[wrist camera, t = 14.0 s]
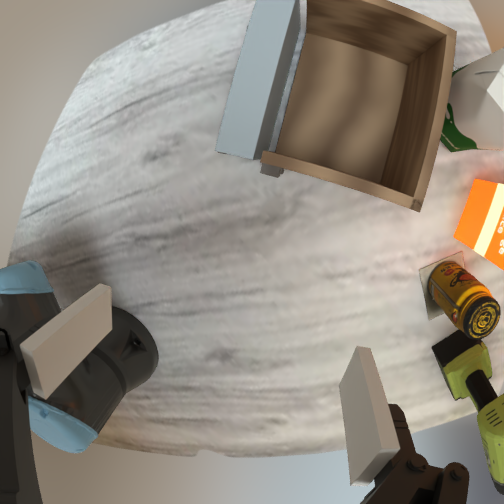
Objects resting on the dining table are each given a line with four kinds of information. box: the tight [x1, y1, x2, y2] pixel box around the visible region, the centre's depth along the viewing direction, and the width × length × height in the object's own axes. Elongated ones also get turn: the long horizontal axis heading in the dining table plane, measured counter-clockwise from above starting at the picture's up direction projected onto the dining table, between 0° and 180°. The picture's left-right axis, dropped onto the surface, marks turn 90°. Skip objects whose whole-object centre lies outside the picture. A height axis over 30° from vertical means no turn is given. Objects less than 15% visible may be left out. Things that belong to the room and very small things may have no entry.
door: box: [215, 0, 300, 160], centre depth 29 cm, size 5×18×11 cm, turn 166°
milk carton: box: [440, 48, 504, 152], centre depth 21 cm, size 9×9×20 cm
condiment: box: [419, 252, 500, 340], centre depth 32 cm, size 7×8×12 cm
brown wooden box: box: [218, 0, 457, 212], centre depth 27 cm, size 20×20×13 cm
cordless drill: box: [432, 330, 504, 495], centre depth 29 cm, size 23×7×25 cm, turn 36°
